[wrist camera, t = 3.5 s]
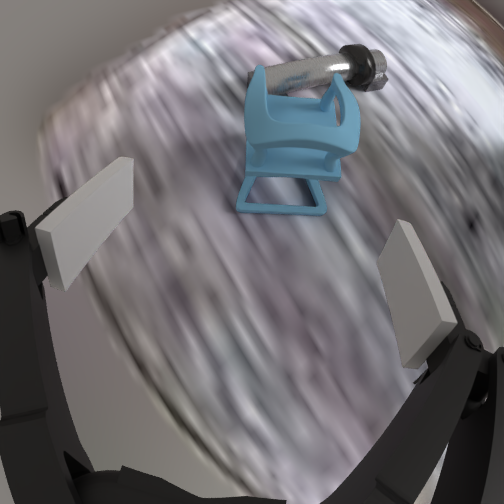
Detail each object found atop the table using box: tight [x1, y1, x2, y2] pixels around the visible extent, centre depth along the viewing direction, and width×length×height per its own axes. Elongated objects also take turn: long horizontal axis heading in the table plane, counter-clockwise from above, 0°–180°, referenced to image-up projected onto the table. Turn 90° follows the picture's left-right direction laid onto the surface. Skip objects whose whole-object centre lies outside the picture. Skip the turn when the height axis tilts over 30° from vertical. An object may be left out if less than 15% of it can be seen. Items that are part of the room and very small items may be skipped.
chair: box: [236, 65, 360, 216], centre depth 22 cm, size 8×8×12 cm
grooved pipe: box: [247, 44, 388, 97], centre depth 27 cm, size 14×5×5 cm, turn 112°
